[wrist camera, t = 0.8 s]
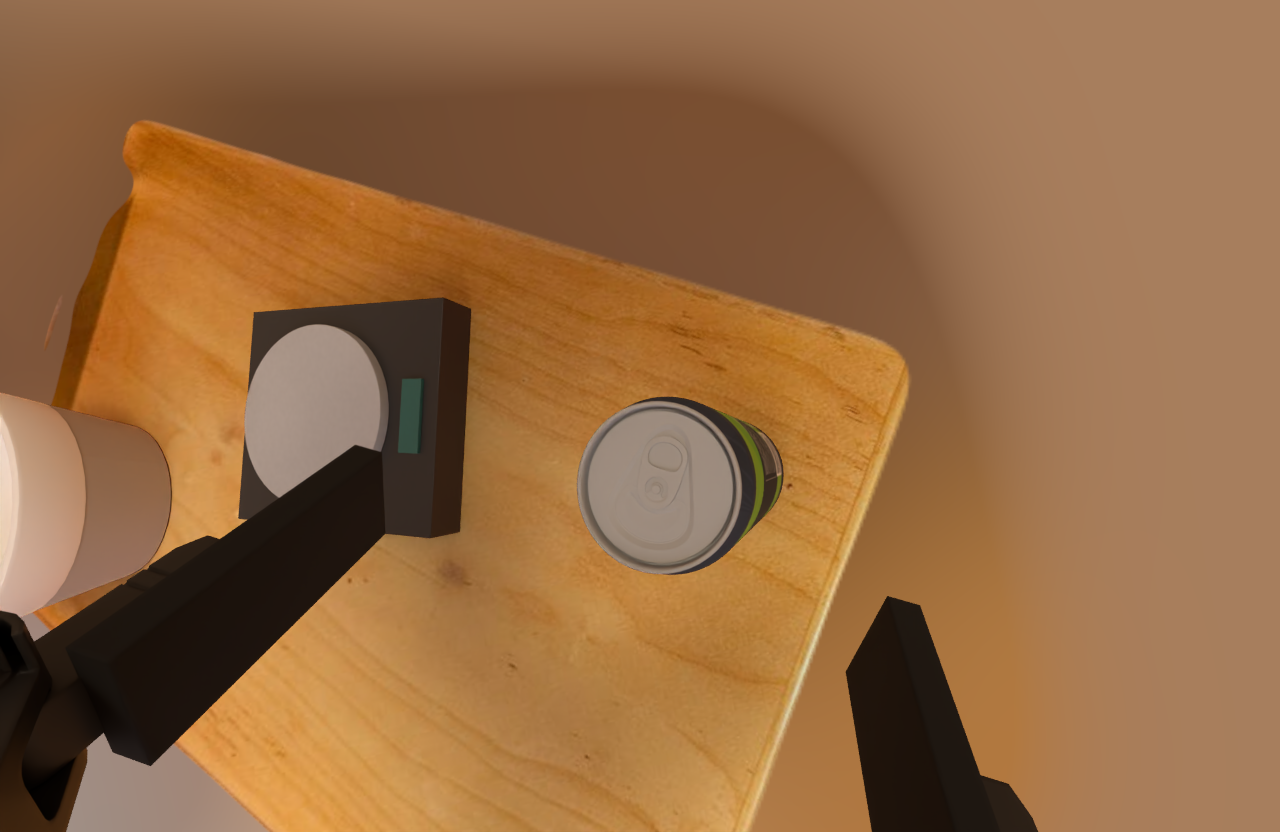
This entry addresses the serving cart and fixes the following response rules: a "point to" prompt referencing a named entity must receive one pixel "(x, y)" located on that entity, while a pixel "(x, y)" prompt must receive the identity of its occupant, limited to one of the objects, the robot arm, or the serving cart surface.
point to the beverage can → (675, 484)
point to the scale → (361, 404)
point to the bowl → (74, 502)
